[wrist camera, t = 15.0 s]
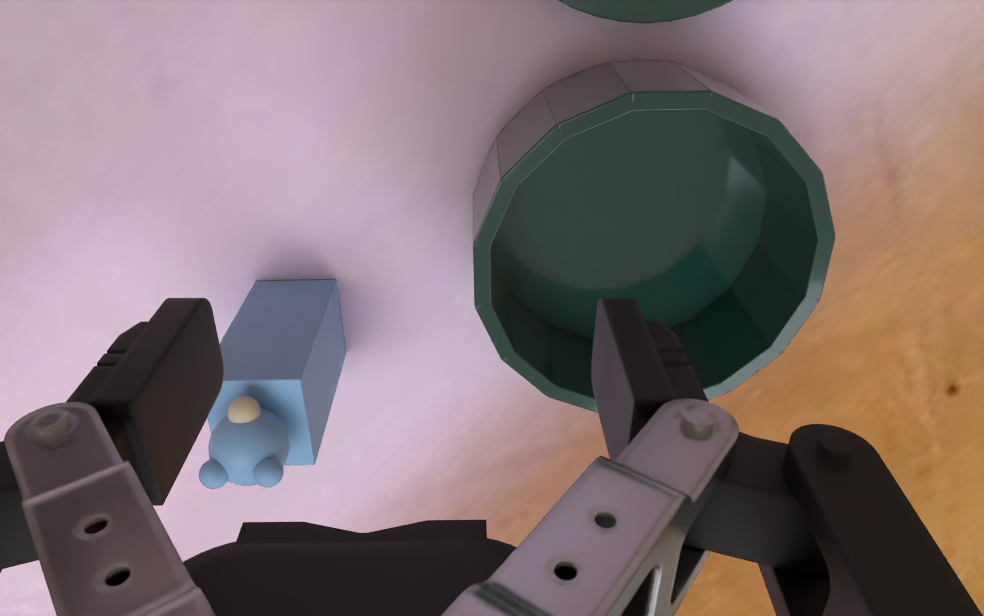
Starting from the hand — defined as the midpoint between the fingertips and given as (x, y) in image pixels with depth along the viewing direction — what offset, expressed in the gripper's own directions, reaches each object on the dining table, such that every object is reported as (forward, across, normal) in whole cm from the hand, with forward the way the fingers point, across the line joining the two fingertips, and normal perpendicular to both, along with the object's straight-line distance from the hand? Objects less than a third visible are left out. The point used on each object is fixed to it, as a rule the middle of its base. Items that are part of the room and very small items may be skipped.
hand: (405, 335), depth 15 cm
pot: (+19, -9, +5) cm, 22 cm away
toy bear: (+19, +7, +11) cm, 23 cm away
